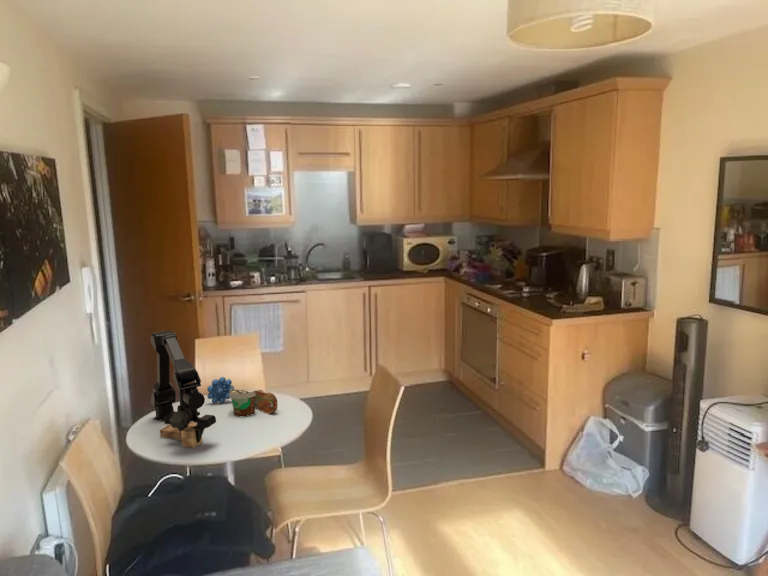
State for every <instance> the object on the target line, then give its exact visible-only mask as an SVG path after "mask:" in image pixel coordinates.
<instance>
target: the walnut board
mask: <svg viewBox="0 0 768 576" xmlns="http://www.w3.org/2000/svg"><path fill="white" fill-rule="evenodd" d="M188 426H196V423H195V422H190V423H189V424H188ZM159 433H160V438H161V437H164V438H163V439H169V438H171V439H170V440H179V441H182V436H181V433H180V431H179V429H178V428H172V426H171V424H167V425H166V426H165V427H162V428H161V429H159Z"/></svg>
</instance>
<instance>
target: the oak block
mask: <svg viewBox="0 0 768 576" xmlns="http://www.w3.org/2000/svg"><path fill="white" fill-rule="evenodd" d="M193 427H195V426H188V427H186V428H185V429H183V430H182V431H181V436H182V440H181V444H182V447H183V446H184V448H191V447H192V448H193V449H195V448H196V447H198V446H199V445H200V444H202V443H203V436H202V437H201V440H200V442H199V443H197V440H196V432H195V430H194V429H193Z"/></svg>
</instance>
